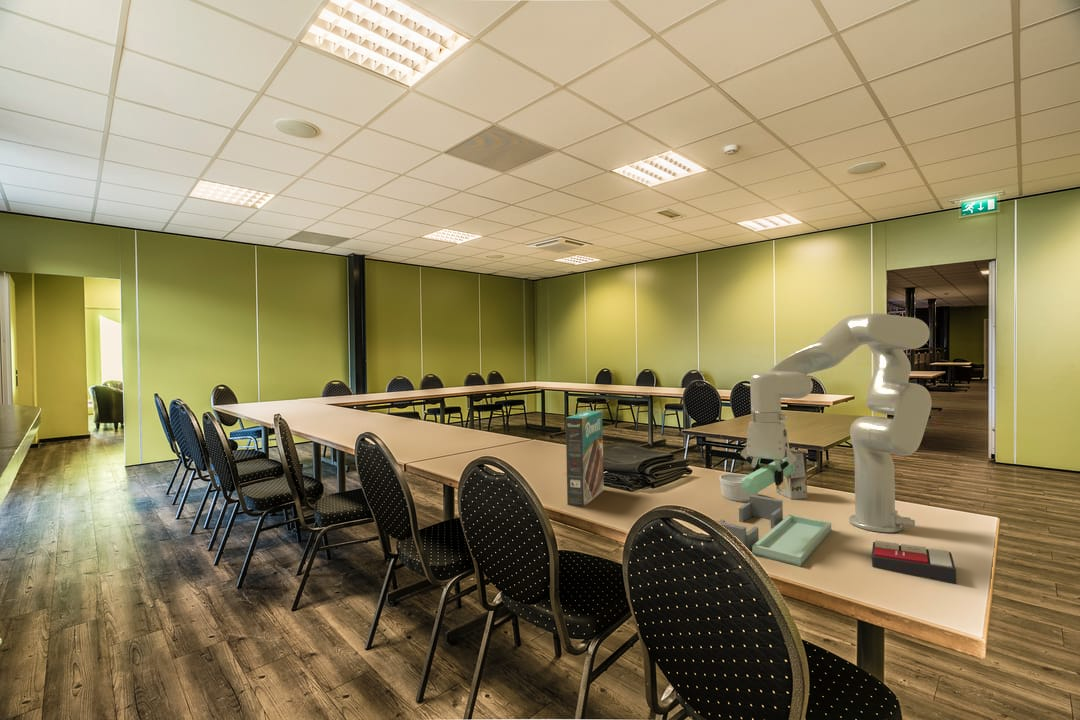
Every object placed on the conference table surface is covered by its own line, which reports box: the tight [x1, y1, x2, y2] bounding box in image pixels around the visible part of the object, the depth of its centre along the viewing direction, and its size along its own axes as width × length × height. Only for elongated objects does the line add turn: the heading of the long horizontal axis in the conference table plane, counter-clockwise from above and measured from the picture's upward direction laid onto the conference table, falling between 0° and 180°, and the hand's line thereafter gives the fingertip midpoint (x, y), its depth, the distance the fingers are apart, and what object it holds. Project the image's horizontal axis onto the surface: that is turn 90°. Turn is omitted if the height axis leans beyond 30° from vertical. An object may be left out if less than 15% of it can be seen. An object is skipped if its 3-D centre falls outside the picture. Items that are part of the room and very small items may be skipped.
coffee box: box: [775, 447, 808, 500], centre depth 169 cm, size 9×6×16 cm
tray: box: [751, 514, 832, 568], centre depth 128 cm, size 11×31×2 cm, turn 137°
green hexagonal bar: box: [742, 457, 794, 494], centre depth 132 cm, size 6×6×25 cm
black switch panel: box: [871, 540, 958, 585], centre depth 112 cm, size 11×4×15 cm
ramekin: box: [719, 473, 759, 503], centre depth 168 cm, size 13×13×7 cm
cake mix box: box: [565, 410, 605, 508], centre depth 172 cm, size 22×6×30 cm, turn 155°
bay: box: [715, 495, 784, 551], centre depth 136 cm, size 10×32×6 cm, turn 137°
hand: (768, 482), depth 132 cm, fingers closed on green hexagonal bar, 4 cm apart
